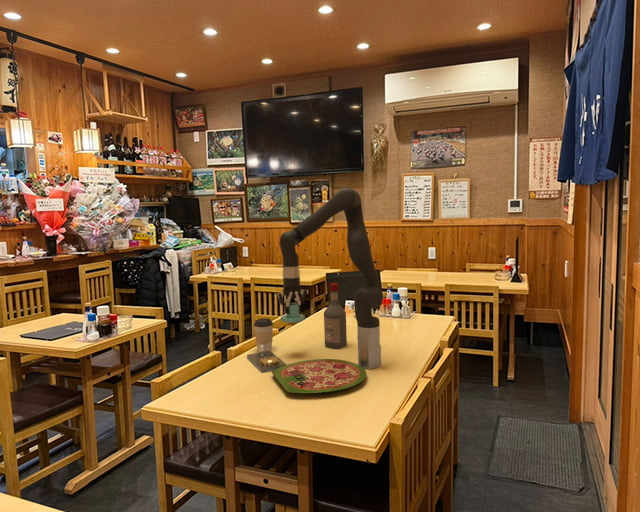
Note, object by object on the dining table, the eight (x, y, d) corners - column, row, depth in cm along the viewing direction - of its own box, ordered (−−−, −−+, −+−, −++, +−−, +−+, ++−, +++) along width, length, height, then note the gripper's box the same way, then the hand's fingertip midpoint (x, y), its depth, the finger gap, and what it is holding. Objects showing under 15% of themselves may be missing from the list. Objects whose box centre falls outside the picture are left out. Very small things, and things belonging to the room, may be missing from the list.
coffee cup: (251, 351, 221) (249, 320, 219) (262, 346, 229) (260, 316, 227) (267, 354, 217) (265, 322, 215) (278, 348, 225) (276, 317, 223)
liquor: (338, 349, 220) (336, 286, 217) (322, 346, 226) (320, 284, 222) (349, 344, 227) (347, 283, 224) (333, 341, 233) (331, 281, 229)
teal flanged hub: (307, 320, 210) (307, 305, 209) (286, 323, 206) (285, 308, 205) (299, 315, 219) (298, 301, 218) (278, 318, 215) (278, 303, 214)
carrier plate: (286, 368, 199) (286, 353, 198) (261, 372, 194) (260, 357, 193) (270, 353, 217) (269, 340, 217) (247, 357, 213) (246, 343, 212)
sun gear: (282, 364, 199) (282, 360, 199) (263, 367, 195) (263, 364, 195) (275, 358, 207) (275, 355, 206) (257, 361, 203) (257, 358, 203)
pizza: (267, 372, 195) (266, 366, 195) (344, 359, 207) (344, 354, 207) (292, 405, 163) (292, 398, 162) (382, 388, 175) (382, 381, 175)
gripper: (279, 278, 204) (280, 317, 206) (309, 275, 210) (310, 313, 212) (273, 276, 211) (275, 314, 213) (302, 273, 217) (304, 310, 219)
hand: (292, 313), depth 212 cm, fingers closed on teal flanged hub, 4 cm apart
